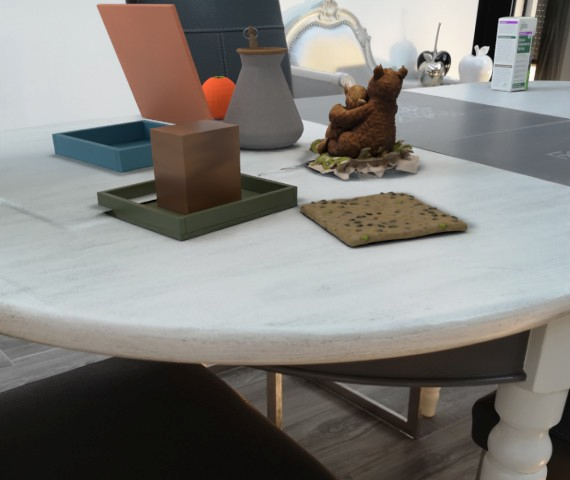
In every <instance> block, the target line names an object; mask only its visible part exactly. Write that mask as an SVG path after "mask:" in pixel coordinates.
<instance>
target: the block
mask: <svg viewBox="0 0 570 480" xmlns="http://www.w3.org/2000/svg"><path fill="white" fill-rule="evenodd" d="M168 125H169V126H163V127H157V128H151V129H150V137H151V147H152V157H153V166H152V167H153V176H154V179H155V187H156V193H155V196H156V199H157V206H159V207H162V208H165V209H168V210H171V211H175V212H178V213H181V214H184V215H188V214H192V213H195V212H199V211H203V210H206V209H210V208H213V207H217V206H221V205H224V204H228V203H232V202H235V201H239V200H242V194H241V173H242V172H241V168H242V167H241V148H240V141H239V125H234V124H229V123H223V121H217V120H213V121H211V120H200V121H194V122H188V123H182V124H168Z"/></svg>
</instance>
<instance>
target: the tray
mask: <svg viewBox="0 0 570 480" xmlns="http://www.w3.org/2000/svg"><path fill="white" fill-rule="evenodd" d="M298 189H299V188H298V186H297V185H293V184H289V183H285V182H281V181H276V180H272V179H269V178H268V179H267V178H264V177H260V176H255V175H251V174H247V173H243V172H241V194H242V200H239V201H235V202H232V203H228V204H224V205H221V206H217V207H213V208H210V209H206V210H203V211H199V212H195V213H192V214H188V215H184V214H181V213H178V212H175V211H171V210H168V209H165V208H162V207H159V206H157V198H153V199H150V200H146V201H142V202H141V201H140V202H137V201H133V200H131V199H136V198H139V197H144V196H147V195H152V194H156V187H155V178H153V179H150V180H145V181H141V182H135V183H132V184H128V185H123V186H118V187H113V188H109V189H106V190H101V191H100V190H99V191H96V197H97V204H98V206H101V207H104V208H107V209H109V210H105V211H102V212H101V213H102V214H104V215H107V216H110V217H112V218H115V219H118V220H122V221H125V222H127V223H130V224H133V225H136V226H138V227H141V228H143V229H147V230H150V231H152V232H155V233H158V234H160V235H163V236H166V237H168V238H172V239H174V240H177V241H180V242H182V241H185V240H188V239H189V240H190V239H191V238H195V237H198V236H202V235H205V234H208V233H212V232H214V231H218V230H221V229H225V228H229V227H232V226H235V225H238V224H241V223H244V222H247V221H251V220H255V219H257V218H260V217H265V216H267V215H271V214H274V213H277V212H281V211H284V210H287V209H290V208H294V207H296V206H298V204H299V203H298Z"/></svg>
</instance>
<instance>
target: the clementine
mask: <svg viewBox="0 0 570 480" xmlns="http://www.w3.org/2000/svg"><path fill="white" fill-rule="evenodd" d="M219 75H220V74H217V75H216V76H212V77H209V78H208V79H207V80H205V81H204V82H203V84H202V85H201V86H202V88H203V91H204V94H205V97H206V100H207V103H208V106H209V109H210V112H211V115H212V118H213V119H215V120H224V118H225V115H226V112H227V109H228V106H229V103H230V101H231V98H232V95H233V92H234V89H235V86H236V83H234V82H233V80H231V79H230V78H228V77H226V76H224V75H220V76H219Z"/></svg>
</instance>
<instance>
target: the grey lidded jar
mask: <svg viewBox="0 0 570 480" xmlns="http://www.w3.org/2000/svg"><path fill="white" fill-rule="evenodd" d="M246 31H247V36H246V35H245V32H246ZM256 32H257V33H256ZM242 35H243V37H244V38H245V39H247V40H248V45H249V47H247V46H246V47H240V48H237V49H236V53H238V54H239V56H240V61H241V69H240V71H239V74H238V78H237V81H236V83H235V85H236V86H235V89H234V92H233V95H232V98H231V101H230V103H229V106H228V109H227V112H226V115H225V118H224V119H223V120H222V122H223V123H229V124H234V125H239V141H240V149H243V150H251V151H252V150H254V151H269V150H270V151H271V150H280V149H285V148H289V147H292V146H294V145H295V144H296V143H297V142H298V141H299V140H300V139H301V138H302V135H303V134H304V130H305V126H304V123H303V120H302V117H301V116H300V113H299V110H298V107H297V105H296V102H295V100H294V97H293V95H292V91H291V89H290V87H289V84H288V82H287V79H286V76H285V74H284V72H283V69H282V66H281V64H282V61H283V60H284V57H285V55H286V53H287V52H288V48H287V47H277V46H259V43H258V39H257V38H258V36H259V31H258V29H257V28H256V27H254V26H252V25H248V27H247V28H245V29H244V30H243V33H242Z"/></svg>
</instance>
